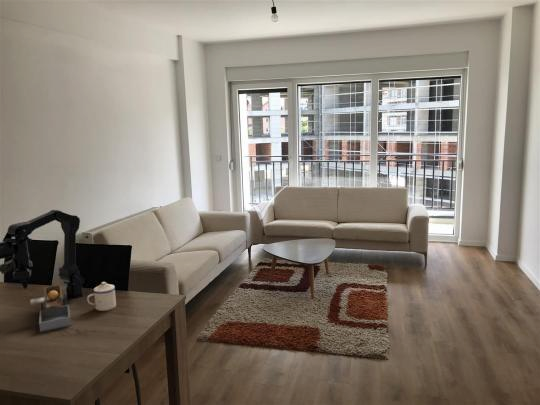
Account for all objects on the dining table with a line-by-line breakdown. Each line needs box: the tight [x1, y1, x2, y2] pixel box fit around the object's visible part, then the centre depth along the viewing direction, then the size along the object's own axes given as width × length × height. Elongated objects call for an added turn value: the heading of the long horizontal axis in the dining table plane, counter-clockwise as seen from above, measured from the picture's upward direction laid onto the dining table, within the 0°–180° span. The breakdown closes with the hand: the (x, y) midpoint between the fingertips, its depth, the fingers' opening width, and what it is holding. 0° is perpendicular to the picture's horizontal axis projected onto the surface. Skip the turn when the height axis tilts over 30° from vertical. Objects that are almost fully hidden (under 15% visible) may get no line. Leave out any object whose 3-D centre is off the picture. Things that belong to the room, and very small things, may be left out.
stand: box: [40, 293, 68, 310], centre depth 187 cm, size 11×5×7 cm, turn 117°
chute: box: [30, 284, 65, 310], centre depth 185 cm, size 12×18×6 cm
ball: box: [48, 290, 58, 300], centre depth 185 cm, size 4×4×4 cm
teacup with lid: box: [86, 281, 117, 312], centre depth 189 cm, size 12×9×12 cm
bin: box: [38, 304, 72, 333], centre depth 177 cm, size 11×14×4 cm
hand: (25, 288), depth 184 cm, fingers closed
